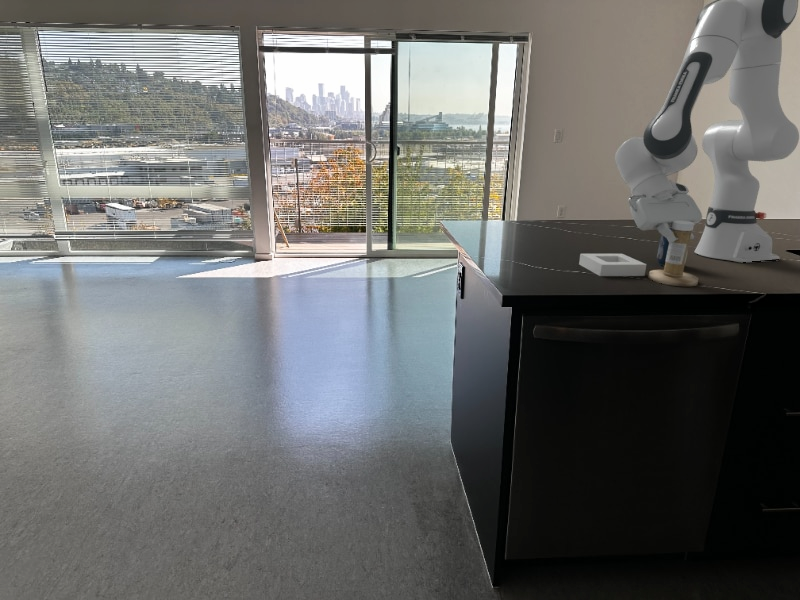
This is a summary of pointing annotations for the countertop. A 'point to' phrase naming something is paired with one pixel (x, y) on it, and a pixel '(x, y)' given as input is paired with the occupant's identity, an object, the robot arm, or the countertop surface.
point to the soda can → (662, 250)
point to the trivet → (673, 279)
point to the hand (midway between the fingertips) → (682, 240)
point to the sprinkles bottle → (678, 248)
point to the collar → (612, 265)
